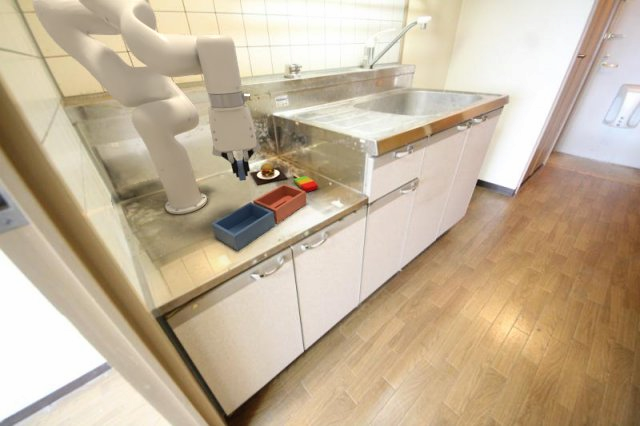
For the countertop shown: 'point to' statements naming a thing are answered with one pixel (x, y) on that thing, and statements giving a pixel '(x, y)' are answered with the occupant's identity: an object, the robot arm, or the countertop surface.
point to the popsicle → (305, 183)
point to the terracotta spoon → (281, 202)
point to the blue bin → (243, 225)
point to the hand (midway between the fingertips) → (242, 174)
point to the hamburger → (268, 174)
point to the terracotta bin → (288, 206)
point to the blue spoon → (241, 171)
